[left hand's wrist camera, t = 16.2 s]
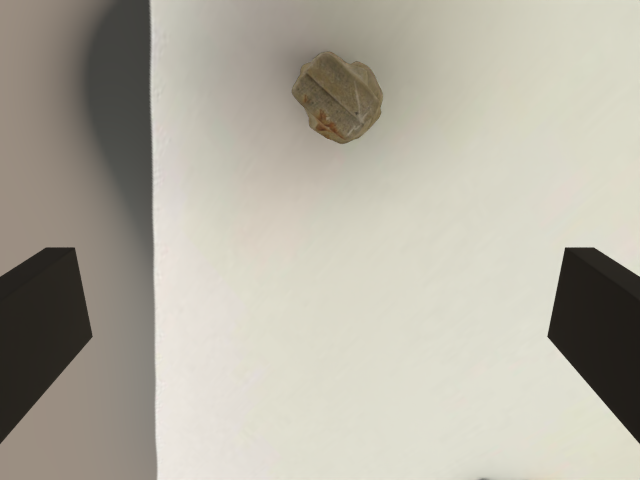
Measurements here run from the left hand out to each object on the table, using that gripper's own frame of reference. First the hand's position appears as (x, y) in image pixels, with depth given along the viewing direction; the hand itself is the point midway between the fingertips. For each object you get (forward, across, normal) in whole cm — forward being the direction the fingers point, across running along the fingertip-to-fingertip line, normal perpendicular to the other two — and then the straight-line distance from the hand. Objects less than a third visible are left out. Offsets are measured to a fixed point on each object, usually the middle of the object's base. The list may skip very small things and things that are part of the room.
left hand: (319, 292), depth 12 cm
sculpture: (+32, +2, +4) cm, 32 cm away
